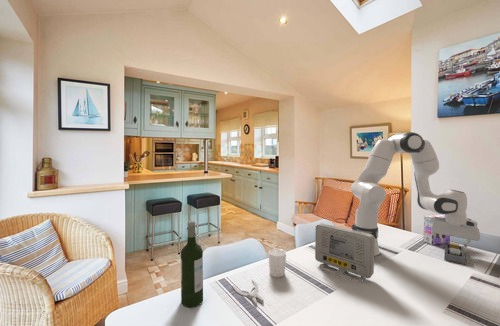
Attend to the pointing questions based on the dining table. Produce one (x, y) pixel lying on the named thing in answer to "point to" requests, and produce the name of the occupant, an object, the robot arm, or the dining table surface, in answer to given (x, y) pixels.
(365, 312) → the dining table surface
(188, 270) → the wine bottle
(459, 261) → the grey cube holder tray
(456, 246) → the tan wooden toy cube
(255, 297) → the pliers
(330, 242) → the network device
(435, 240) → the candy box
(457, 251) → the cube in holder slot
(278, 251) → the white cup
